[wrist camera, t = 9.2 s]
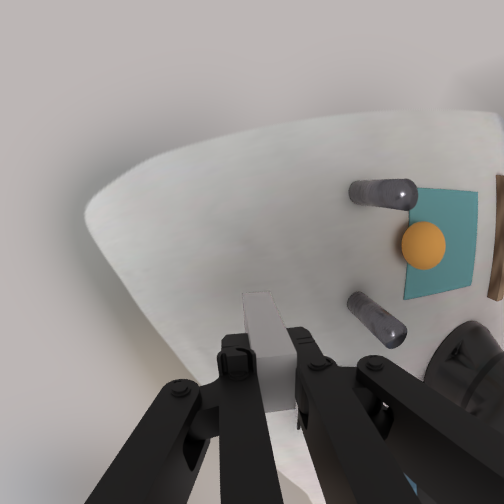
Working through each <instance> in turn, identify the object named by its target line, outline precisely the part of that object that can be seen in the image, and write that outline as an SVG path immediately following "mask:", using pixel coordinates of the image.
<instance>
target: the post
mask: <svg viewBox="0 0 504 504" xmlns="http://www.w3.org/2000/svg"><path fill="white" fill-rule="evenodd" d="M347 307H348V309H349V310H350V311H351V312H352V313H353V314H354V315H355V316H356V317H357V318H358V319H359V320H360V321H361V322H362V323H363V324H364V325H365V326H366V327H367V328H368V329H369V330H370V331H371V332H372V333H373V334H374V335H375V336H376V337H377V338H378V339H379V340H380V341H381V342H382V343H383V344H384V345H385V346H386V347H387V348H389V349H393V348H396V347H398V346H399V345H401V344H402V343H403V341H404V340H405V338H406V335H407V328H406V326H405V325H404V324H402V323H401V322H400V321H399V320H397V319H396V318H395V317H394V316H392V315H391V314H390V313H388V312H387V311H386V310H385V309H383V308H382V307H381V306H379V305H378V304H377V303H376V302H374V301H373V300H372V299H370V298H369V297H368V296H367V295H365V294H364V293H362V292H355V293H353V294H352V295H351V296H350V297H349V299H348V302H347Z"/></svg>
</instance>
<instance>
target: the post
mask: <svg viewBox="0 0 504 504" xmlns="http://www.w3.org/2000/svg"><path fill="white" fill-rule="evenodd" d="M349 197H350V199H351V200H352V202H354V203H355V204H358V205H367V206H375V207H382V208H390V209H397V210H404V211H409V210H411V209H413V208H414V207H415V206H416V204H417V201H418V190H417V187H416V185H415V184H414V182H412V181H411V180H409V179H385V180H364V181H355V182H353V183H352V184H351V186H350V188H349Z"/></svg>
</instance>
